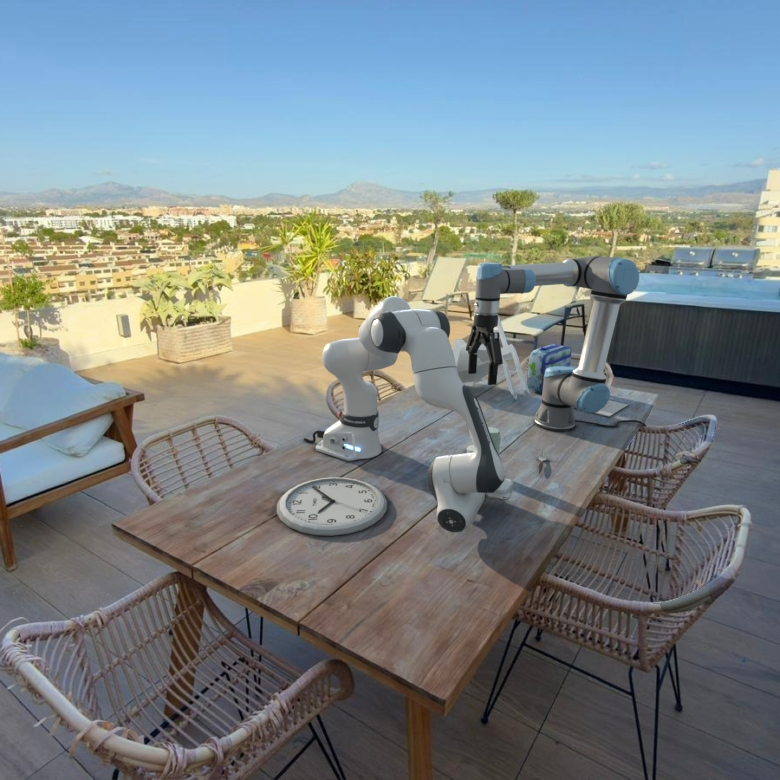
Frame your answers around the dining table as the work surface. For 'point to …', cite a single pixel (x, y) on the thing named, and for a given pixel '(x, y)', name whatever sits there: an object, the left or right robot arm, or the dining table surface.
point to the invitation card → (611, 408)
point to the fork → (542, 460)
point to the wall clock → (331, 506)
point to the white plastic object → (487, 362)
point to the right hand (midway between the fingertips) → (481, 378)
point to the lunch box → (546, 363)
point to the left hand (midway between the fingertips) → (481, 471)
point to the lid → (470, 449)
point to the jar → (495, 437)
